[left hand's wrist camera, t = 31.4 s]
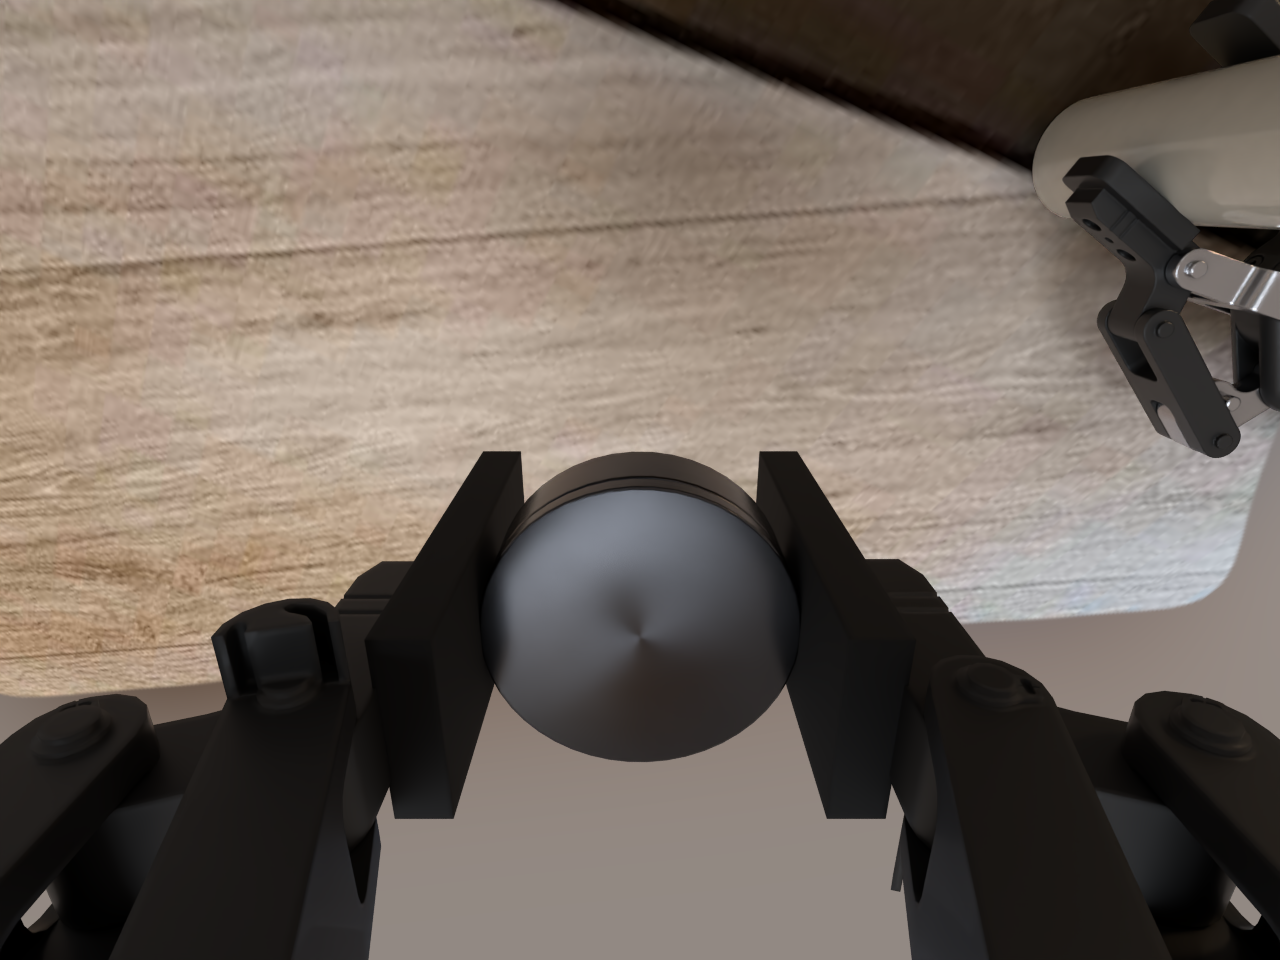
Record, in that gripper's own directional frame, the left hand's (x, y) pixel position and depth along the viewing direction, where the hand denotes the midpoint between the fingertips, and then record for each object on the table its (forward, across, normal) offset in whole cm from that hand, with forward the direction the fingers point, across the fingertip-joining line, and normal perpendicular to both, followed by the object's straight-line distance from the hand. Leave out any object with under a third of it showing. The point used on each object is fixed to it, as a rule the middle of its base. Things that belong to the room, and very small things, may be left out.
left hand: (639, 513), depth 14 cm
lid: (-4, 0, 0) cm, 4 cm away
